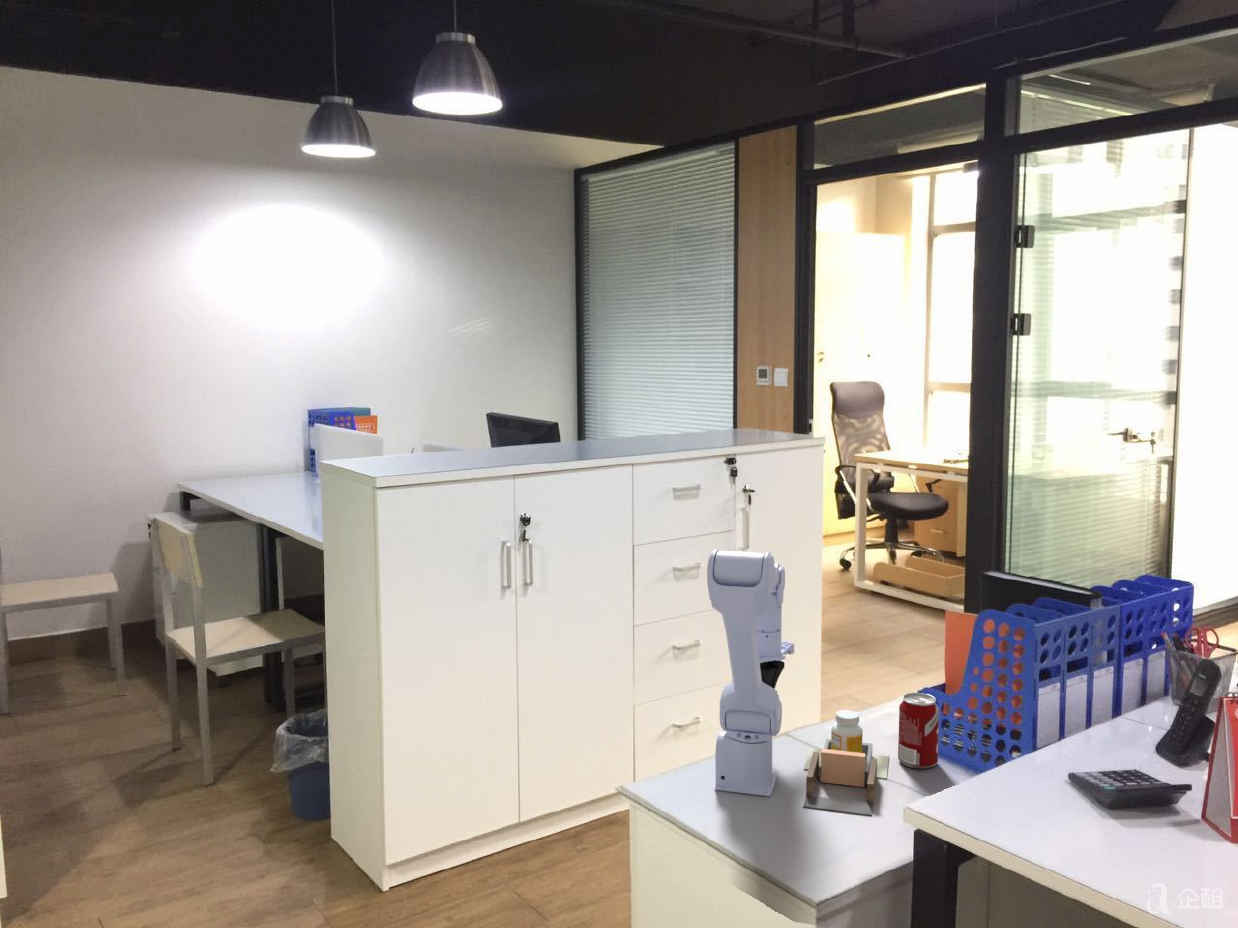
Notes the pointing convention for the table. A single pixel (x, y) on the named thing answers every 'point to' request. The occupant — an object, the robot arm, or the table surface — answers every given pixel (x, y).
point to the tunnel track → (812, 765)
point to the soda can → (918, 731)
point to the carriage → (845, 765)
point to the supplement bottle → (847, 732)
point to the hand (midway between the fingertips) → (765, 699)
